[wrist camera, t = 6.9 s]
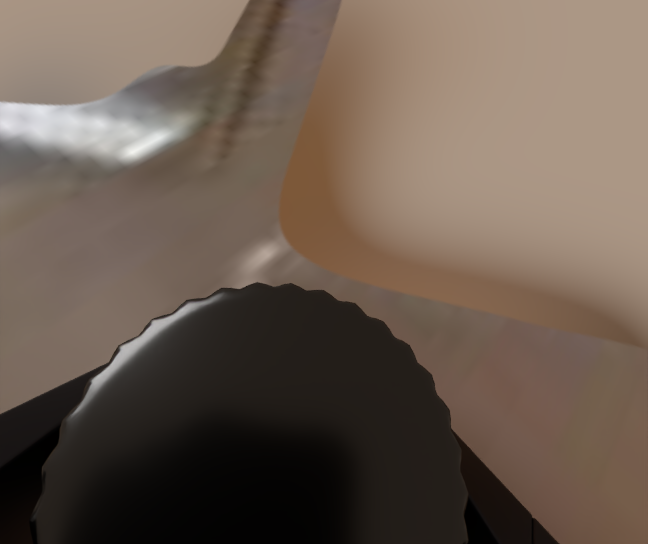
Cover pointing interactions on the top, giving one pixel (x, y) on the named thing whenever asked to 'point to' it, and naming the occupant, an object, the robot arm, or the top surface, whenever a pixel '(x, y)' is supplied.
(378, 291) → the top surface
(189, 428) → the supplement bottle
